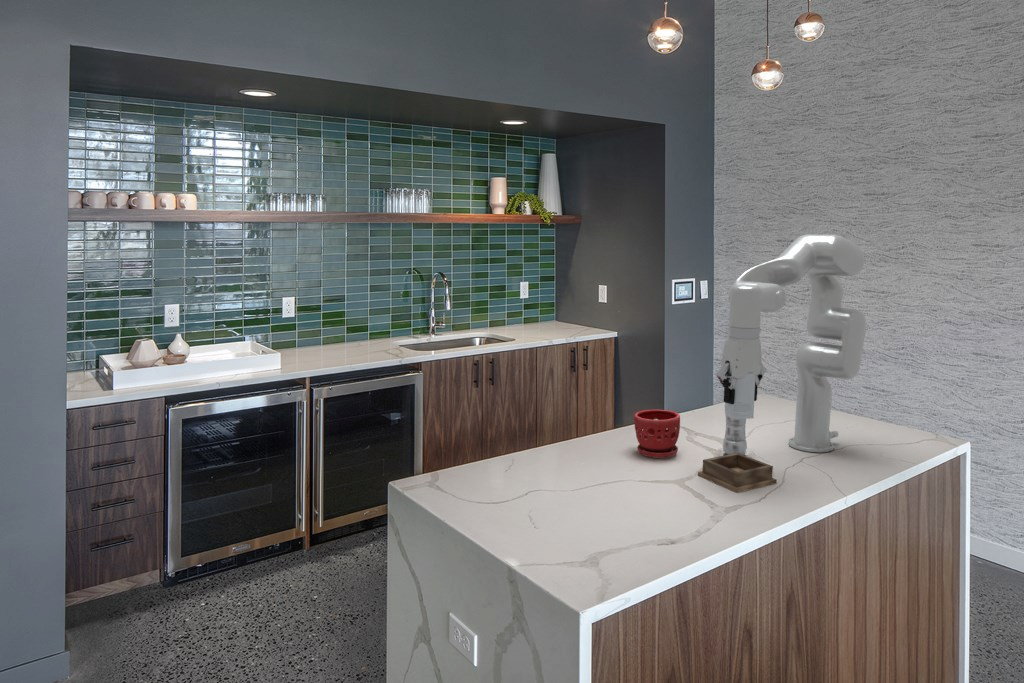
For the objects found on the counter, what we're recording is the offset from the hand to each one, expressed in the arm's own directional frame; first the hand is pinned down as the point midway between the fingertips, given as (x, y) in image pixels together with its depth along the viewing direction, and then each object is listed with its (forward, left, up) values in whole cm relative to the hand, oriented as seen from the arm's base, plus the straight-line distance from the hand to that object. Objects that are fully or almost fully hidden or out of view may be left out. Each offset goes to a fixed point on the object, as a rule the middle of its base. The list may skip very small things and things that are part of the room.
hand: (740, 401), depth 185 cm
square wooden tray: (0, 0, -21) cm, 21 cm away
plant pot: (+5, -27, -22) cm, 35 cm away
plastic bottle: (-14, -15, -21) cm, 30 cm away
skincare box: (0, 0, -4) cm, 4 cm away
